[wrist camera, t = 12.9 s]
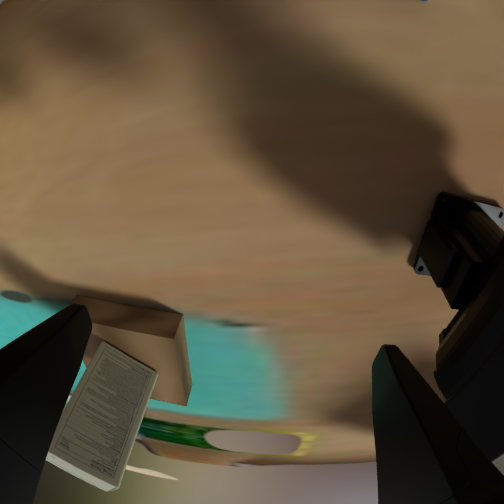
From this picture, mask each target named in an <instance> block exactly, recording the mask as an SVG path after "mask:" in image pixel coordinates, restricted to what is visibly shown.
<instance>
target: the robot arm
mask: <svg viewBox="0 0 504 504" xmlns="http://www.w3.org/2000/svg"><path fill="white" fill-rule="evenodd" d="M444 198H446V200H445V201H444V202H442V200H443V199H444ZM499 213H500V214H499ZM498 214H499V215H498ZM503 220H504V209H503V208H502V207H500V206H496V205H493V204H489V203H486V202H482V201H478V200H474V199H471V198H467V197H463V196H459V195H455V194H451V193H446V192H442V193H440V194H439V195H438V196H437V199H436V202H435V205H434V209H433V212H432V215H431V218H430V220H429V221H428V222H427V225H426V228H425V231H424V234H423V237H422V240H421V242H420V245H419V248H418V255H417V257H416V260H415V263H414V265H413V269H414V271H415V273H416V274H420V275H428V276H431V277H432V279H433V280H434V282H435V284H436V286H437V287H438V288H441V290H442V291H443V293H444V295H445V297H446V299H447V301H448V303H449V305H450V307H451V309H458V310H459V311H458V312H457V314H456V315H455V316H454V318H453V319H452V321H451V322H450V323H449V325H448V326H447V328H446V329H443V331H442V332H441V333H440V335H439V348H438V350H437V353H436V368H437V369H436V370H435V371H434V376H435V379H436V382H437V385H438V388H439V389H440V391H441V393H442V395H443V397H444V398H445V399H446V400H447V401H446V402H445V403H443V402H442V401H441V399H440V398H439V397H438V395H437V394H436V393H435V392H434V391H433V389H432V388H431V387H430V386H429V384H428V383H427V382H426V381H425V379H424V378H423V377H422V376H421V375H420V373H419V372H418V371H417V370H416V368H415V367H414V366H413V365H412V364H411V362H410V361H409V360H408V359H407V358H406V356H405V355H404V354H403V353H402V352H401V350H400V349H399V348H398V347H397V346H396V345H387V344H385V345H382V346H381V348H380V350H379V352H378V354H377V356H376V358H375V359H374V362H373V365H372V414H373V426H374V436H375V448H376V462H377V478H378V479H377V480H378V504H504V475H503V474H502V473H501V472H500V471H499V470H498V468H497V467H496V466H495V465H494V464H493V463H492V462H493V461H495V460H496V459H498V458H499V457H500V456H502V455H503V454H504V231H503V230H502V229H501V225H502V222H503ZM420 266H422V267H421V268H419V267H420ZM418 268H419V269H418ZM91 332H92V321H91V318H90V315H89V312H88V309H87V307H86V305H84V304H80V303H72V304H71V305H69V306H67V307H66V308H64V309H63V310H61V311H59V312H58V313H56V314H55V315H53V316H51V317H50V318H48V319H47V320H45V321H43V322H42V323H40V324H39V325H37V326H35V327H34V328H32V329H31V330H29V331H28V332H26V333H24V334H23V335H21V336H20V337H18V338H17V339H15V340H14V341H12V342H11V343H9V344H8V345H6V346H4V347H3V348H1V349H0V504H33V502H34V498H35V494H36V491H37V487H38V484H39V480H40V477H41V473H42V470H43V467H44V463H45V460H46V457H47V454H48V451H49V448H50V445H51V442H52V439H53V436H54V433H55V431H56V428H57V425H58V422H59V420H60V417H61V414H62V412H63V409H64V406H65V404H66V401H67V399H68V396H69V394H70V391H71V389H72V386H73V384H74V381H75V379H76V376H77V374H78V371H79V369H80V366H81V363H82V360H83V356H84V353H85V350H86V347H87V344H88V341H89V338H90V335H91Z"/></svg>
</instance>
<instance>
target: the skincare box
mask: <svg viewBox="0 0 504 504" xmlns="http://www.w3.org/2000/svg"><path fill="white" fill-rule="evenodd" d="M157 378H158V373H156V372H155V371H153V370H151V369H149V368H148V367H146V366H144V365H143V364H141V363H139V362H137V361H136V360H134V359H132V358H130V357H129V356H127V355H125V354H124V353H122V352H121V351H119V350H118V349H116V348H114V347H112V346H111V345H109V344H107V343H106V342H104V341H102V342H101V344H100V345H99V347H98V349H97V351H96V352H95V354H94V356H93V358H92V359H91V361H90V363H89V365H88V367H87V368H86V370H85V372H84V374H83V376H82V377H81V379H80V381H79V383H78V385H77V387H76V389H75V390H74V392H73V394H72V396H71V398H70V400H69V402H68V404H67V406H66V408H65V410H64V412H63V414H62V416H61V418H60V420H59V422H58V425H57V428H56V431H55V433H54V436H53V439H52V442H51V445H50V448H49V451H48V454H47V457H46V460H47V461H49V462H51V463H52V464H54V465H56V466H58V467H59V468H61V469H63V470H65V471H66V472H69V473H70V474H72V475H74V476H76V477H78V478H80V479H82V480H84V481H86V482H88V483H90V484H92V485H94V486H96V487H98V488H100V489H102V490H104V491H107V492H108V491H112V490H116V489H119V487H120V484H121V480H122V477H123V474H124V471H125V468H126V465H127V462H128V459H129V456H130V453H131V450H132V447H133V445H134V442H135V439H136V436H137V433H138V430H139V427H140V424H141V422H142V419H143V416H144V413H145V410H146V407H147V405H148V402H149V399H150V397H151V394H152V391H153V388H154V386H155V383H156V380H157Z"/></svg>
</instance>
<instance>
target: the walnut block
mask: <svg viewBox="0 0 504 504" xmlns="http://www.w3.org/2000/svg"><path fill="white" fill-rule="evenodd" d="M72 303H80V304H84V305H86V307H87V309H88V312H89V315H90V318H91V321H92V332H91V335H90V338H89V341H88V344H87V347H86V350H85V353H84V356H83V362H84V364H85V366H86V368H87V367H88V365H89V363H90V361H91V359H92V358H93V356H94V354H95V352H96V351H97V349H98V347H99V345H100V344H101V342H102V341H104V342H106V343H107V344H109V345H111V346H112V347H114V348H116V349H118V350H119V351H121V352H122V353H124V354H125V355H127V356H129V357H130V358H132V359H134V360H136V361H137V362H139V363H141V364H143V365H144V366H146V367H148V368H149V369H151V370H153V371H155V372H156V373H158V378H157V380H156V383H155V386H154V388H153V391H152V394H151V397H150V399H154V400H158V401H163V402H168V403H173V404H178V405H183V406H187V402H188V398H189V395H190V391H191V387H192V380H191V373H190V366H189V359H188V351H187V343H186V335H185V326H184V318H183V314H178V313H171V312H165V311H159V310H153V309H147V308H141V307H135V306H130V305H124V304H119V303H113V302H108V301H103V300H98V299H93V298H88V297H83V296H78V295H77V296H76V298H75V299H74V300H73V302H72ZM72 303H71V304H72ZM71 304H70V305H71Z"/></svg>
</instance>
